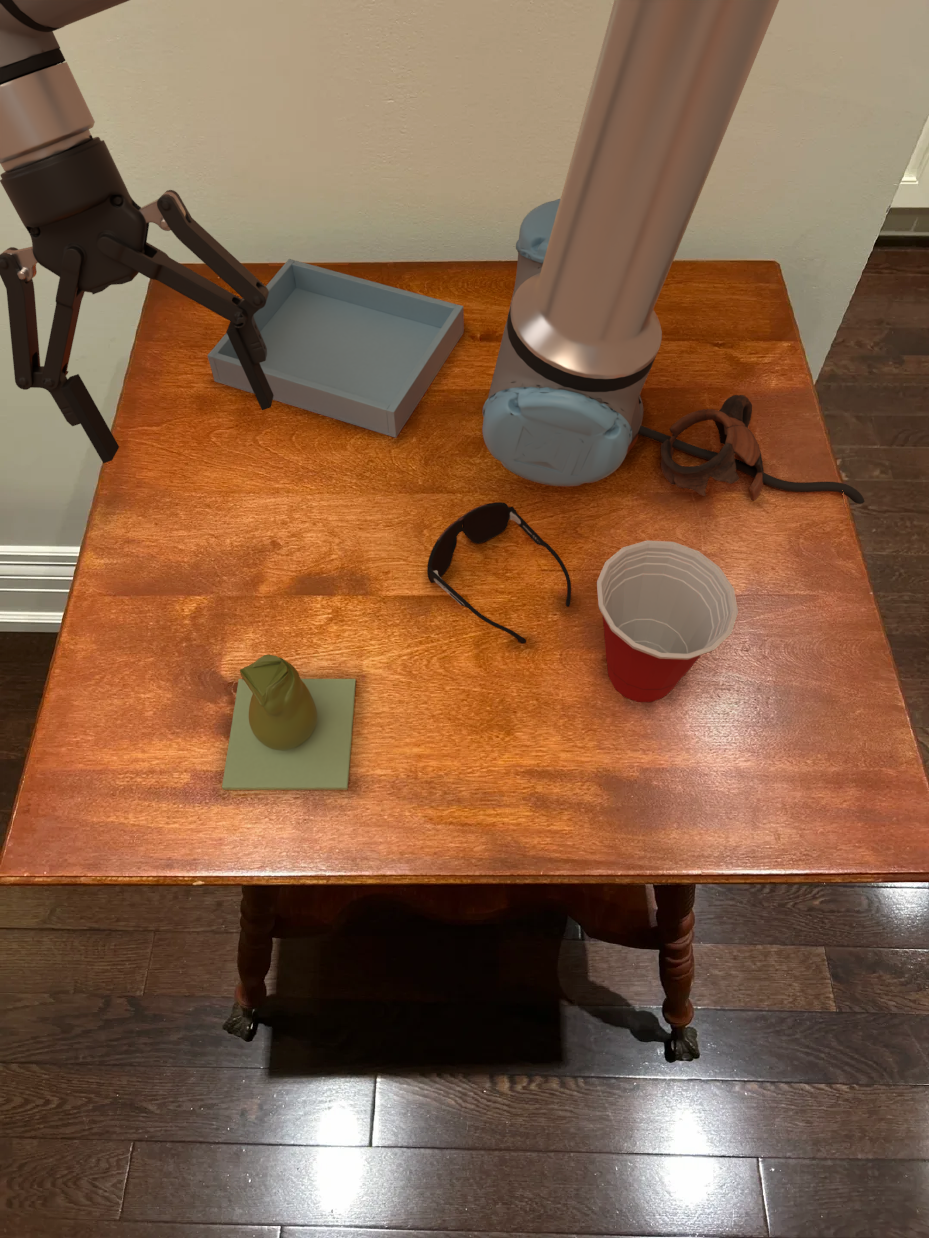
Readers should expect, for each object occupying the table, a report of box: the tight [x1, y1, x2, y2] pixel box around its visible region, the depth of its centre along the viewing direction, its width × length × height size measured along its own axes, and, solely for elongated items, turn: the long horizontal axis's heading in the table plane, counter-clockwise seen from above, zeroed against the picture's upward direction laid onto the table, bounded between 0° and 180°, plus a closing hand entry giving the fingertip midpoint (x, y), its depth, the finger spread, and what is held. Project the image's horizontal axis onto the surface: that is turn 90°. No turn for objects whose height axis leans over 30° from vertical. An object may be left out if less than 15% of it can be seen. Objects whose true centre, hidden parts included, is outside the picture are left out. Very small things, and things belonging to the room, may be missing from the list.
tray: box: [207, 258, 465, 439], centre depth 103 cm, size 22×18×4 cm
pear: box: [239, 654, 317, 750], centre depth 74 cm, size 6×5×10 cm
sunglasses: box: [426, 501, 572, 644], centre depth 85 cm, size 10×12×5 cm
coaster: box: [221, 678, 357, 791], centre depth 79 cm, size 10×10×1 cm
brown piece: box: [660, 394, 765, 502], centre depth 93 cm, size 12×10×8 cm
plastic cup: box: [596, 540, 739, 703], centre depth 77 cm, size 11×11×12 cm
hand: (189, 429), depth 77 cm, fingers open, 13 cm apart
